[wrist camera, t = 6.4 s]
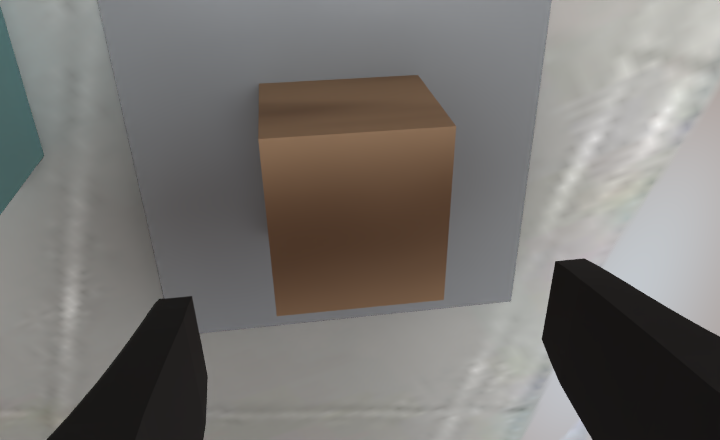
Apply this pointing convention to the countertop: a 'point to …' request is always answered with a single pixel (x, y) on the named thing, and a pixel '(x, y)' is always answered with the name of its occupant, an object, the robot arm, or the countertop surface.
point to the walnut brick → (355, 192)
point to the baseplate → (310, 63)
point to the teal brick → (14, 125)
